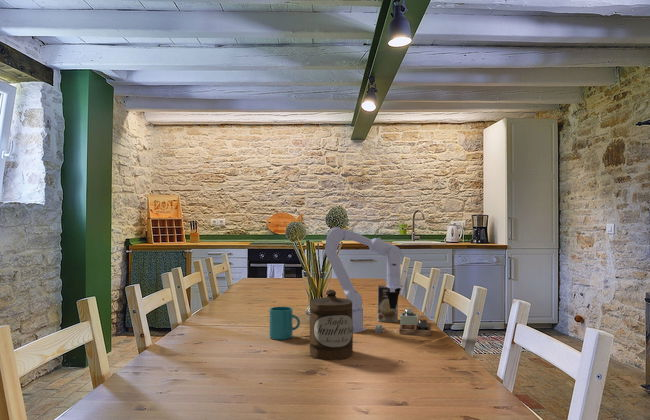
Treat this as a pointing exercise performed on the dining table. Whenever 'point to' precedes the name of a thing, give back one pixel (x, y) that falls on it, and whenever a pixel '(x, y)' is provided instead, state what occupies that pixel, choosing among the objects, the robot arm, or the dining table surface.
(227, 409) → the dining table surface
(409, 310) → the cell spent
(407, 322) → the cup
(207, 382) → the dining table surface
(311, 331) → the wooden container
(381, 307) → the coffee box
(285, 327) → the cup
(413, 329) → the trough tray
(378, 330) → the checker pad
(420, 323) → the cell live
